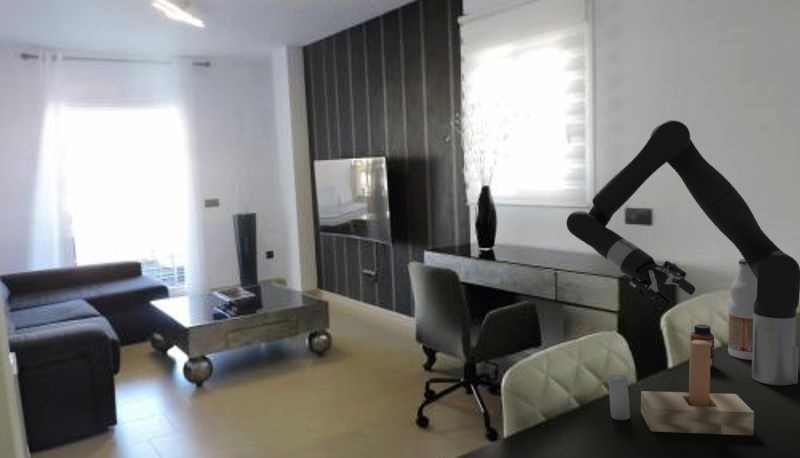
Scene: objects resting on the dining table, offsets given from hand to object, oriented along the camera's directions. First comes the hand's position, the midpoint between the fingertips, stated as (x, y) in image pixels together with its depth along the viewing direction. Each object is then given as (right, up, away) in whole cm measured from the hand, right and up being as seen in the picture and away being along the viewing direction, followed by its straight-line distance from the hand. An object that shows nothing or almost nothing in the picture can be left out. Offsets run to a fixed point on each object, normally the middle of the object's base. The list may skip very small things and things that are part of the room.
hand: (682, 297), depth 145 cm
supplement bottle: (+16, -22, +22) cm, 35 cm away
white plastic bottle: (+32, -20, +29) cm, 48 cm away
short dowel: (-18, -26, -9) cm, 33 cm away
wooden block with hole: (-3, -26, -14) cm, 29 cm away
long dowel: (-3, -26, -14) cm, 29 cm away
